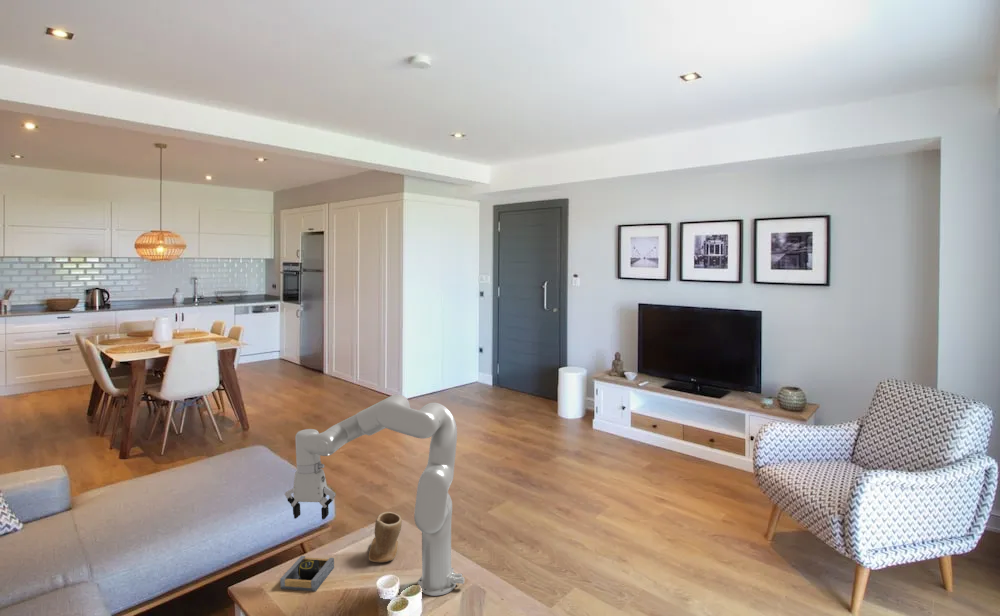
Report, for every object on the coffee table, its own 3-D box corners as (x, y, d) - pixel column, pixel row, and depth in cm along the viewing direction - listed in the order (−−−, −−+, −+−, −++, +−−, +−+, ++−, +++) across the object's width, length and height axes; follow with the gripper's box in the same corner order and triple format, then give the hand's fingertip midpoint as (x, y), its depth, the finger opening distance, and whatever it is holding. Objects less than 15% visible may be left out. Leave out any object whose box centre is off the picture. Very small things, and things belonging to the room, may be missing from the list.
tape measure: (319, 579, 179) (319, 568, 179) (297, 582, 177) (297, 571, 177) (319, 568, 185) (319, 557, 185) (298, 571, 183) (298, 560, 183)
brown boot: (400, 564, 189) (399, 523, 188) (365, 565, 189) (364, 524, 188) (405, 543, 205) (404, 504, 204) (373, 544, 204) (372, 505, 203)
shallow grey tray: (334, 567, 188) (334, 558, 187) (315, 591, 174) (315, 581, 173) (301, 565, 189) (301, 555, 189) (280, 588, 175) (280, 578, 175)
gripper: (338, 463, 182) (340, 513, 183) (289, 462, 184) (292, 511, 185) (328, 472, 174) (331, 523, 176) (278, 470, 176) (280, 521, 178)
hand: (311, 517), depth 180 cm, fingers open, 9 cm apart
